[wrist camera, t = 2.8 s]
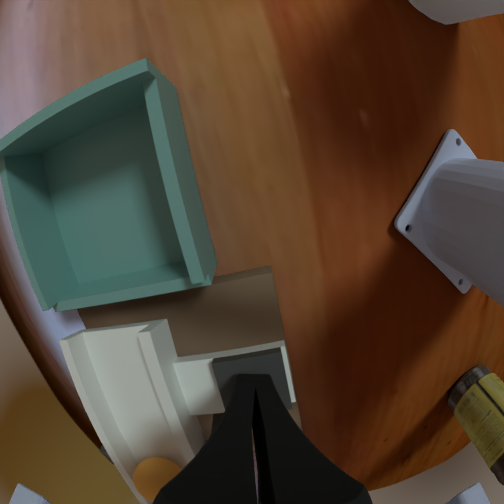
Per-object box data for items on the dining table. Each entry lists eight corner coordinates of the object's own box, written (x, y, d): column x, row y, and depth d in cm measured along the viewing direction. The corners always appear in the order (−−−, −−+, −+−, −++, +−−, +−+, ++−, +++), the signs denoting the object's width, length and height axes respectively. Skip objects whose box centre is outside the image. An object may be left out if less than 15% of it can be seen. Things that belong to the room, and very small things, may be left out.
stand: (303, 434, 21) (315, 503, 14) (170, 446, 22) (157, 508, 15) (270, 265, 16) (288, 347, 9) (83, 301, 17) (22, 367, 10)
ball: (203, 502, 10) (188, 461, 11) (154, 518, 8) (135, 476, 9) (179, 483, 12) (166, 445, 13) (136, 495, 10) (120, 456, 11)
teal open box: (217, 262, 16) (206, 304, 11) (77, 291, 17) (38, 328, 12) (175, 87, 13) (146, 58, 8) (37, 148, 13) (-15, 152, 9)
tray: (311, 491, 15) (319, 534, 10) (178, 499, 15) (164, 537, 11) (274, 291, 15) (278, 311, 10) (100, 321, 15) (54, 342, 10)
